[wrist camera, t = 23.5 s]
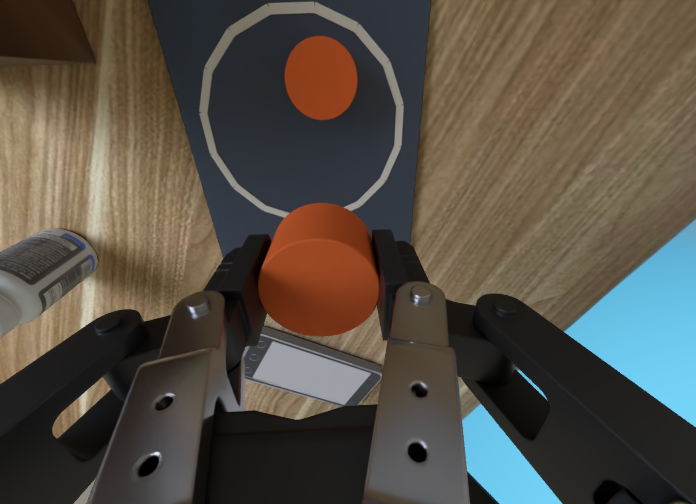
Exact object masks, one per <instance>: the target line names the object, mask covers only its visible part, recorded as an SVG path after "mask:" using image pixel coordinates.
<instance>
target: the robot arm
mask: <svg viewBox="0 0 696 504" xmlns="http://www.w3.org/2000/svg"><path fill="white" fill-rule="evenodd" d="M271 243H272V242H271V238H270V235H269V234H257V235H248V237H247V238H246V240H245V242H244V244H243V245H242V247H241V248H235V249H233V250H232V251H231V252H229V253H228V254H226V255H225V257H224V259H223V260H222V262H221V265H219V266H218V268H217V270H216V271H215V273H214V274H213V276H212V277H211V279H210V281H209V282H208V284H207V285H206V287H205V288H204V290H203V291H201V292H197V293H194V294H192V295H189V296H187V297H185V298H184V299H182V300H181V301H180V302H179V303H178V304H177V305H176V306H175V307H174V309H173V311H172V314H171V315H169V316H165V317H161V318H157V319H153V320H149V321H145V322H144V321H143V319H142V317H141V315H140V313H139V312H138V311H136V310H131V309H125V310H118V311H114V312H111V313H108V314H106V315H103V316H101V317H99V318H97V319H96V320H94V321H92V322H91V323H89V324H88V325H86V326H85V327H84V328H82V329H81V330H79V331H78V332H76V333H75V334H73V335H72V336H70V337H69V338H67V339H66V340H65V341H63V342H62V343H60V344H59V345H57V346H56V347H54V348H53V349H51V350H50V351H48V352H47V353H45V354H44V355H43V356H41V357H40V358H38V359H37V360H35V361H34V362H32V363H31V364H29V365H28V366H26V367H25V368H24V369H22V370H21V371H19V372H18V373H16V374H15V375H13V376H12V377H10V378H9V379H7V380H6V381H5V382H3V383H2V384H0V504H73V503H74V502H75V501H76V500H77V499H78V498H79V496H80V495H81V494H82V493H83V492H84V491H85V490H86V489H87V487H88V486H89V485H90V484H91V483H92V482H93V481H94V480H95V478H96V480H95V482H94V485H93V487H92V490H91V493H90V495H89V498H88V501H87V503H86V504H499V503H498V502H497V501H496V500H495V499H494V498H493V497H492V496H491V495H490V494H489V493H488V492H487V491H486V490H485V489H484V488H483V487H482V486H481V485H480V484H479V483H478V482H477V481H476V480H475V479H474V478H473V477H472V476H471V475H470V474H469V473H468V472H467V467H466V457H465V447H464V436H463V427H462V416H461V405H460V395H459V385H458V377H461V378H462V380H463V381H464V383H465V384H466V385H467V387H468V388H469V389H470V390H471V392H472V393H473V394H474V395H475V397H476V398H477V399H478V400H479V401H480V403H481V404H482V405H483V406H484V408H485V409H486V410H487V411H488V412H489V414H490V415H491V416H492V417H493V418H494V420H495V421H496V422H497V424H498V425H499V426H500V427H501V428H502V430H503V431H504V432H505V433H506V435H507V436H508V437H509V438H510V440H511V441H512V442H513V443H514V445H515V446H516V447H517V448H518V449H519V451H520V452H521V453H522V454H523V456H524V457H525V458H526V459H527V461H528V462H529V463H530V464H531V465H532V467H533V468H534V469H535V470H536V472H537V473H538V474H539V475H540V477H541V478H542V479H543V480H544V481H545V483H546V484H547V485H548V486H549V488H550V489H551V490H552V491H553V493H554V494H555V495H556V496H557V497H558V498H559V500H560V501H561V502H562V503H563V504H696V427H694V426H693V425H691V424H690V423H689V422H687V421H686V420H685V419H683V418H682V417H680V416H678V414H676V413H675V412H673V411H672V410H671V409H669V408H668V407H666V406H665V405H664V404H662V403H661V402H659V401H658V400H657V399H656V398H654V397H653V396H651V395H650V394H649V393H647V392H646V391H644V390H643V389H642V388H640V387H639V386H638V385H636V384H635V383H633V382H632V381H631V380H629V379H628V378H627V377H625V376H624V375H622V374H621V373H620V372H618V371H617V370H615V369H614V368H613V367H611V366H610V365H608V364H607V363H606V362H604V361H603V360H601V359H600V358H599V357H598V356H596V355H595V354H593V353H592V352H591V351H589V350H588V349H586V348H585V347H584V346H582V345H581V344H580V343H578V342H577V341H575V340H574V339H573V338H571V337H570V336H569V335H567V334H566V333H564V332H563V331H562V330H560V329H559V328H558V327H556V326H555V325H553V324H552V323H551V322H549V321H548V320H546V319H545V318H544V317H542V316H541V315H540V314H538V313H537V312H535V311H534V310H533V309H531V308H530V307H529V306H527V305H526V304H524V303H523V302H521V301H520V300H518V299H516V298H513V297H511V296H508V295H503V294H486V295H483V296H481V297H480V298H479V299H478V300H477V303H476V306H474V305H468V304H462V303H457V302H453V301H450V300H447V299H446V298H445V295H444V293H443V292H442V290H441V289H439V288H438V287H436V286H435V285H433V284H430V282H429V280H428V278H427V276H426V274H425V271H424V269H423V267H422V265H421V263H420V260H419V258H418V256H417V254H416V252H415V250H414V247H413V246H411V245H410V244H409V243H407V242H406V241H395V238H394V236H393V233H392V230H391V229H379V230H372V247H373V251H374V256H375V261H376V265H377V270H378V275H379V300H378V303H377V309H378V314H379V320H380V326H381V332H382V337H383V341H384V340H388V341H387V347H386V354H385V360H384V366H383V373H382V379H381V386H380V392H379V399H378V404H377V405H357V406H343V407H340V408H337V409H333V410H330V411H327V412H324V413H320V414H317V415H314V416H311V417H308V418H304V419H300V420H294V419H289V418H285V417H280V416H276V415H271V414H267V413H263V412H258V411H244V402H245V363H244V359H243V352H244V349H245V347H249V346H257V345H258V342H259V338H260V335H261V332H262V328H263V325H264V322H265V318H266V315H267V312H266V310H265V309H264V307H263V305H262V303H261V301H260V297H259V292H258V277H259V273H260V270H261V268H262V265H263V263H264V260H265V258H266V255H267V253H268V250H269V248H270V245H271ZM515 367H518V368H519V369H520V370H521V371H522V372H523V373H524V374H525V375H526V376H527V377H528V378H529V379H530V380H532V382H533V383H534V384H535V385H536V386H537V387H539V389H540V390H541V391H542V392H543V393H544V395H545V396H546V398H547V400H548V401H547V400H546V399H545V398H544V397H543V396H542V395H541V394H540V393H539V392H538V391H537V390H536V389H535V388H534V387H533V386H532V385H531V384H530V383H529V382H528V381H527V380H526V379H525V378H524V377H523V376H522V375H521V374H520V373H519V372H518V371H517V370H516V369H515ZM102 377H103V378H104V379H105V381H106V382H107V384H108V385H109V386H110V388H111V390H110V391H109V392H108V393H107V394H106V395H105V396H104V397H102V398H101V399H100V400H99V401H98V402H97V403H96V404H95V405H94V406H93V407H92V408H91V409H89V410H88V411H87V412H86V413H85V414H84V415H83V416H82V417H81V418H80V419H79V420H78V421H76V422H75V423H74V424H73V425H72V426H71V427H70V428H69V429H68V430H67V431H66V432H64V433H63V434H62V435H61V436H60V437H59V438H57V439H56V438H55V437H54V435H53V433H52V427H53V424H54V422H55V420H56V418H57V417H58V416H59V414H60V413H61V412H62V411H63V410H65V409H66V408H67V407H68V406H69V405H70V404H71V403H73V402H74V401H75V400H76V399H77V398H78V397H80V396H81V395H82V394H83V393H84V392H85V391H87V390H88V389H89V388H90V387H91V386H92V385H94V384H95V383H96V382H97V381H98V380H99V379H100V378H102Z"/></svg>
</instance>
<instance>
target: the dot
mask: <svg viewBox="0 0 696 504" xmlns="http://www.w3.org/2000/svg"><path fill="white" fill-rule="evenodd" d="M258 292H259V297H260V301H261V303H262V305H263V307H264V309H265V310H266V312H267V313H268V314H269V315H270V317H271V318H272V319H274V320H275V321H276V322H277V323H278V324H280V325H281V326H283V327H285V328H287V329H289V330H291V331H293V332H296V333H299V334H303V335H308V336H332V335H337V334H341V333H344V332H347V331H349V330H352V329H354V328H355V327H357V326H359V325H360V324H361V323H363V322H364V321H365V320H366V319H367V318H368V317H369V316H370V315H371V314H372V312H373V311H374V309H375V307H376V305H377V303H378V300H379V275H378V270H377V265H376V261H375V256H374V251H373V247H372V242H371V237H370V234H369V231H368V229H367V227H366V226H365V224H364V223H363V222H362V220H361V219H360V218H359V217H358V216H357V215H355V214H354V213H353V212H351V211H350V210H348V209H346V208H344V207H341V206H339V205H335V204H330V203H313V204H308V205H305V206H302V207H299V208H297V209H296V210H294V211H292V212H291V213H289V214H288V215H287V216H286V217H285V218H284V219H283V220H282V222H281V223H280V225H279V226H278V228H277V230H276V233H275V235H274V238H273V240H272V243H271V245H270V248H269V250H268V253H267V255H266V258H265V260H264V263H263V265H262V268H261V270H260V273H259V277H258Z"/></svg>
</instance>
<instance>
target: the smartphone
mask: <svg viewBox="0 0 696 504" xmlns="http://www.w3.org/2000/svg"><path fill="white" fill-rule="evenodd" d="M243 359H244V363H245V380H249V381H252V382H256V383H259V384H263V385H266V386H270V387H274V388H277V389H281V390H284V391H288V392H291V393H295V394H298V395H302V396H305V397H309V398H312V399H316V400H319V401H323V402H327V403H330V404H334V405H337V406H341V407H343V406H357V405H359V404H360V403H361V402H362V401H363V399H364V398H365V397H366V396H367V395H368V394H369V393H370V392H371V390H372V389H373V388H374V387H375V386H376V385H377V384H378V383H379V381H380V380H381V379H382V370H381V367H380V365H378V364H375V363H372V362H369V361H366V360H363V359H360V358H357V357H354V356H351V355H348V354H345V353H342V352H339V351H336V350H333V349H330V348H327V347H324V346H321V345H318V344H315V343H313V342H310V341H307V340H304V339H301V338H298V337H295V336H292V335H289V334H286V333H283V332H280V331H277V330H274V329H271V328H268V327H265V326H263V328H262V332H261V335H260V338H259V342H258V345H257V346H249V347H246V348H245V350H244V352H243Z"/></svg>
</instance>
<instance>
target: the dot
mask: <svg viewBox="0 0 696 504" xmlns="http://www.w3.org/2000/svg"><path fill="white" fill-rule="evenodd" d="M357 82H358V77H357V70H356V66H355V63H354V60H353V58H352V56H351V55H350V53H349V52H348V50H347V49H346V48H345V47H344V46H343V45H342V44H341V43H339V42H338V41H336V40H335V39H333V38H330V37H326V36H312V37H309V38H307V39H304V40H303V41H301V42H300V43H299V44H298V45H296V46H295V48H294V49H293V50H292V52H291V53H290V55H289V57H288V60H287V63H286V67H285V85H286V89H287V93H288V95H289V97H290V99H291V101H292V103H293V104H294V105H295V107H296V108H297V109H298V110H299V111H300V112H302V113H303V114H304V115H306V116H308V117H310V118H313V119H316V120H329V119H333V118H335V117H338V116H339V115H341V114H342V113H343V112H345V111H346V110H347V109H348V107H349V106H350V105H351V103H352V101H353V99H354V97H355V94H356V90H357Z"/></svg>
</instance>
